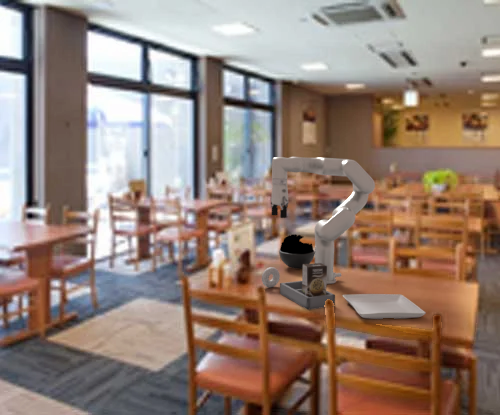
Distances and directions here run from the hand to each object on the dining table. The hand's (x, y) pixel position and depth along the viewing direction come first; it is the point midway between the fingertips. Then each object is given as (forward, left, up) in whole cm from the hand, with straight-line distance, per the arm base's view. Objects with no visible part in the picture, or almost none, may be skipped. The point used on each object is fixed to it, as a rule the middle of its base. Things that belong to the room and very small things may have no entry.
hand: (278, 216), depth 254 cm
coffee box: (+2, +38, -32) cm, 50 cm away
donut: (+8, +8, -34) cm, 35 cm away
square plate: (-20, +57, -34) cm, 69 cm away
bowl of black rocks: (-23, -22, -34) cm, 46 cm away
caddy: (+2, +32, -33) cm, 46 cm away
